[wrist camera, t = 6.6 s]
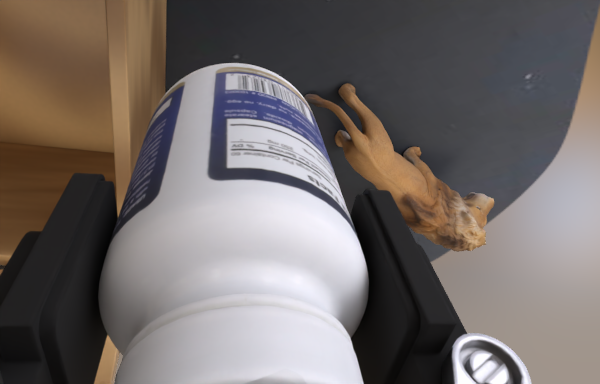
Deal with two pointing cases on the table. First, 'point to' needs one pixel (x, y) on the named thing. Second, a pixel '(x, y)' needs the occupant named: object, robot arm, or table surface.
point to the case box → (73, 100)
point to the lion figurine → (409, 180)
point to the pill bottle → (234, 243)
